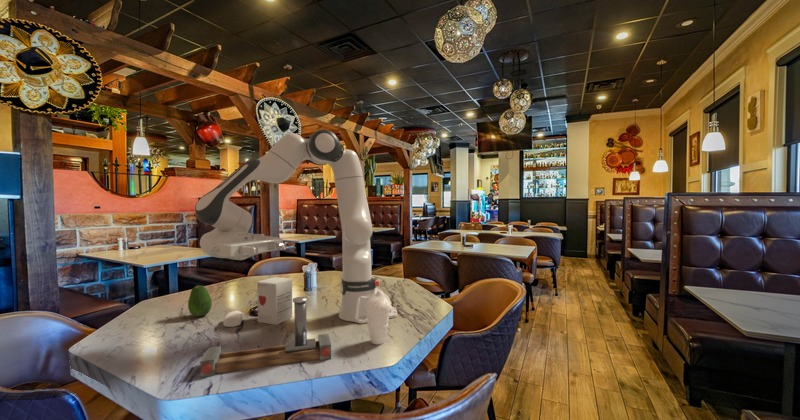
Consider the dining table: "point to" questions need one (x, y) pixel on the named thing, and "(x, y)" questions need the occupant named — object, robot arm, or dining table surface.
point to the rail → (260, 357)
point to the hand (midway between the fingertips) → (269, 248)
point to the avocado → (199, 301)
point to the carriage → (300, 328)
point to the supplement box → (274, 300)
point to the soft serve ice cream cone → (378, 317)
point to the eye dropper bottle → (233, 318)
